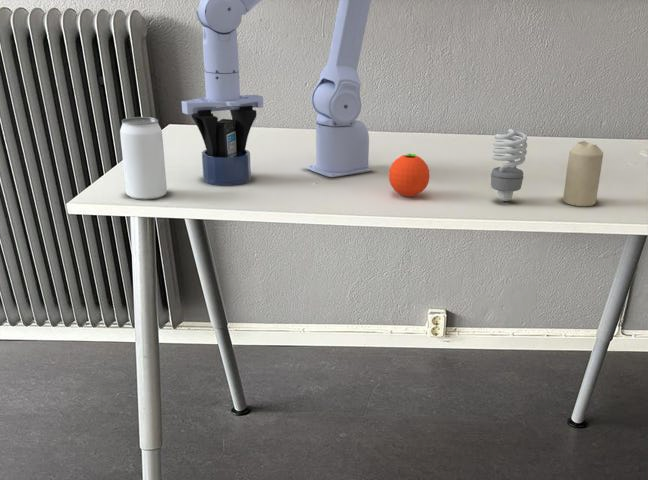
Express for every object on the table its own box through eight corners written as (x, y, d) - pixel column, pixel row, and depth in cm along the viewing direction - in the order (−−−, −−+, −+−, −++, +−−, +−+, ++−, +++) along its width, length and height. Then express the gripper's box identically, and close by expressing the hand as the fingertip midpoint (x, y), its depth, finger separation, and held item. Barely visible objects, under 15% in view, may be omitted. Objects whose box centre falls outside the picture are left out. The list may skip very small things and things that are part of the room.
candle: (602, 204, 141) (611, 144, 137) (577, 208, 138) (586, 147, 134) (580, 196, 145) (588, 138, 141) (556, 199, 143) (563, 140, 138)
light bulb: (511, 208, 137) (519, 134, 132) (481, 202, 140) (488, 129, 134) (527, 201, 141) (535, 129, 136) (497, 195, 144) (504, 124, 139)
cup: (235, 171, 153) (234, 145, 151) (259, 181, 147) (258, 154, 145) (195, 177, 148) (193, 150, 146) (217, 187, 142) (216, 159, 140)
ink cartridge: (227, 170, 144) (224, 123, 141) (215, 169, 145) (211, 122, 141) (240, 164, 149) (237, 118, 145) (228, 163, 149) (225, 117, 146)
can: (126, 201, 133) (118, 124, 128) (126, 190, 139) (118, 116, 134) (168, 199, 135) (161, 123, 130) (166, 189, 141) (160, 116, 135)
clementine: (392, 187, 146) (394, 146, 143) (431, 190, 145) (434, 149, 142) (384, 199, 139) (386, 156, 136) (425, 202, 138) (428, 159, 135)
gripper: (193, 77, 133) (199, 162, 139) (271, 71, 141) (273, 152, 147) (173, 71, 137) (179, 154, 143) (250, 66, 146) (253, 145, 152)
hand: (226, 153), depth 146 cm, fingers closed on ink cartridge, 5 cm apart
